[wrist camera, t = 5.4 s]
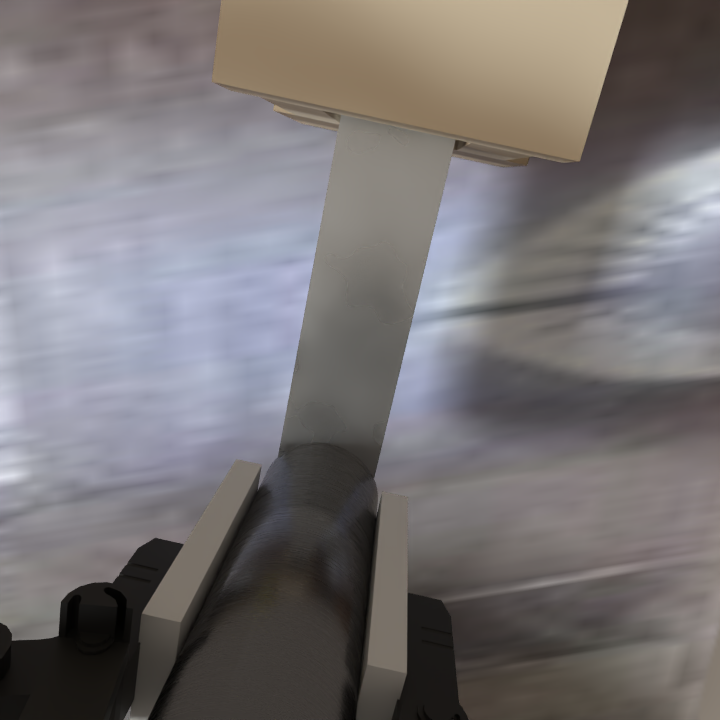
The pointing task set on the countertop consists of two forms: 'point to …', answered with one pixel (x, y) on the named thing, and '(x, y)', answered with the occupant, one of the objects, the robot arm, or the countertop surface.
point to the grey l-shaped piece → (322, 455)
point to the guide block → (429, 67)
